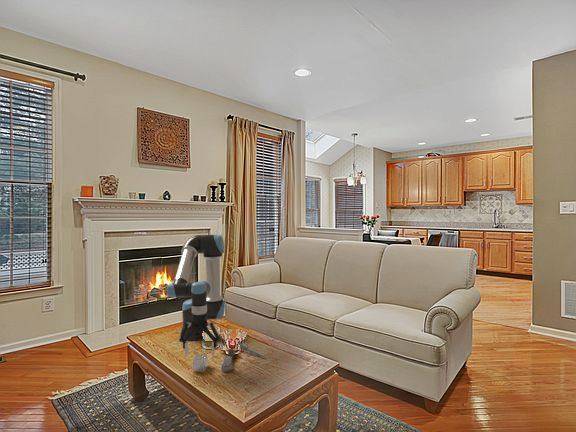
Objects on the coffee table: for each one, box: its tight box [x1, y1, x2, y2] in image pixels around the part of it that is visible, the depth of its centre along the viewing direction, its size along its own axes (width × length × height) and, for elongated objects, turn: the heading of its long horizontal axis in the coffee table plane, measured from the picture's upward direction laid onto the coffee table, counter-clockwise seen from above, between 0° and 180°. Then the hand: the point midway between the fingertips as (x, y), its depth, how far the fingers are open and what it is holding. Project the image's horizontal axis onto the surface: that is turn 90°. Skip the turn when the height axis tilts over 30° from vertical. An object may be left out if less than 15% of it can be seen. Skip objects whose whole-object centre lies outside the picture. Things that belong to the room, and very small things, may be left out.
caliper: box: [238, 340, 268, 360], centre depth 190 cm, size 20×1×6 cm, turn 58°
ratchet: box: [221, 349, 236, 374], centre depth 181 cm, size 22×6×6 cm, turn 2°
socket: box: [192, 354, 209, 373], centre depth 174 cm, size 6×6×6 cm
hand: (200, 354), depth 174 cm, fingers open, 13 cm apart
